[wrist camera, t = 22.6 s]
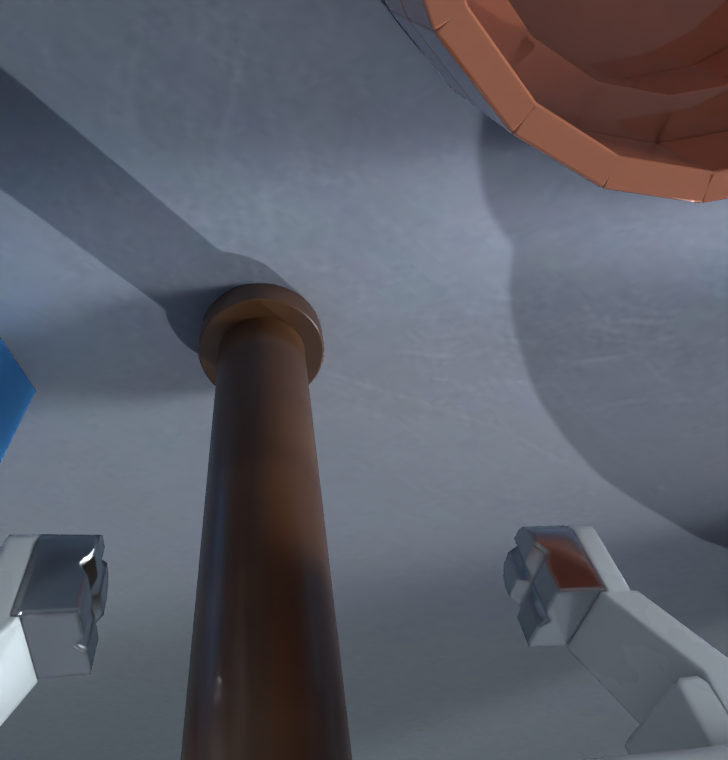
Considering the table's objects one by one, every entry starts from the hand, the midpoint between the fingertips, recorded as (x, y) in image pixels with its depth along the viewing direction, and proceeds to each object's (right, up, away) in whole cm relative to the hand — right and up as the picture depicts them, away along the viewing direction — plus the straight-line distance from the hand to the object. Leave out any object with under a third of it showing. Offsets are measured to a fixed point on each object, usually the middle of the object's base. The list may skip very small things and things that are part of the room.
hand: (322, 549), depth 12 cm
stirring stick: (-3, +5, +10) cm, 12 cm away
